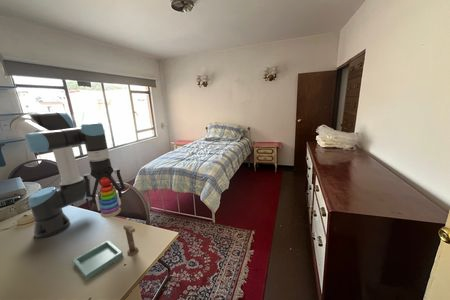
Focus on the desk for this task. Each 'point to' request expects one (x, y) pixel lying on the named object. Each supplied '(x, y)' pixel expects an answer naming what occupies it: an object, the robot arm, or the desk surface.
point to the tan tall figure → (130, 239)
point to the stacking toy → (108, 199)
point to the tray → (97, 259)
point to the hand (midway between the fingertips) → (109, 206)
